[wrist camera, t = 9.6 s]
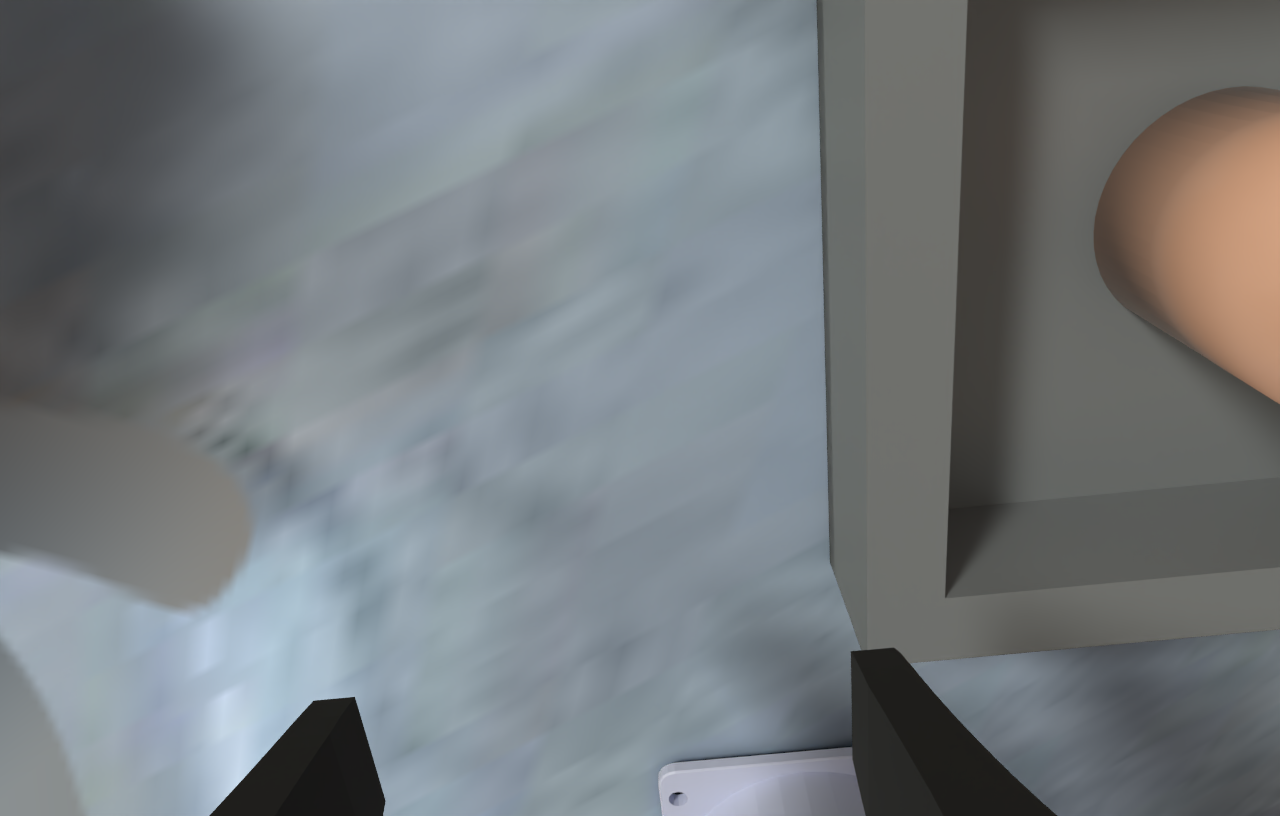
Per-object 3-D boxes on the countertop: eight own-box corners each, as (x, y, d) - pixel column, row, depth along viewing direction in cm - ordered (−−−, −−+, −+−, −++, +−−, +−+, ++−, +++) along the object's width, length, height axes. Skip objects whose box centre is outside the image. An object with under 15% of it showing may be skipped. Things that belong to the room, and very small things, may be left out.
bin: (1476, 500, 23) (1636, 596, 19) (830, 562, 23) (867, 666, 20) (1715, -281, 16) (2026, -358, 13) (812, -174, 17) (864, -218, 13)
